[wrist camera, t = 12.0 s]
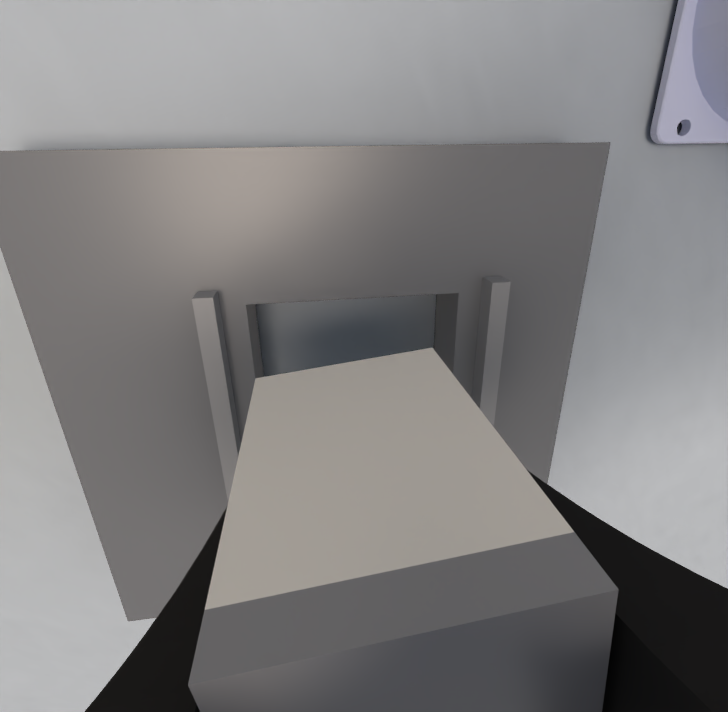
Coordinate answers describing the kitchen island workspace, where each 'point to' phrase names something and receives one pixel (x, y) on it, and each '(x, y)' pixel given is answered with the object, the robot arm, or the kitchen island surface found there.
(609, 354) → the kitchen island surface
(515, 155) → the socket plate
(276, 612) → the plug
